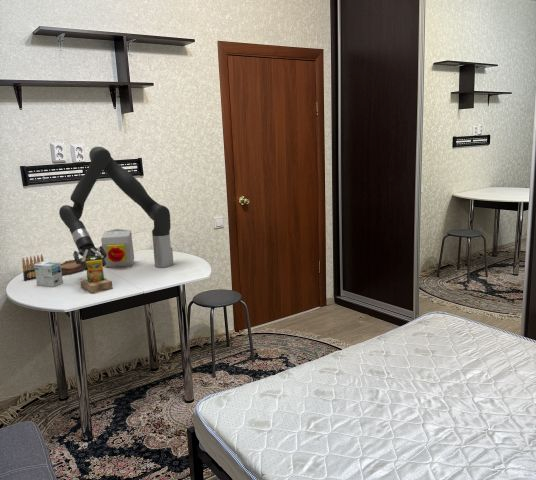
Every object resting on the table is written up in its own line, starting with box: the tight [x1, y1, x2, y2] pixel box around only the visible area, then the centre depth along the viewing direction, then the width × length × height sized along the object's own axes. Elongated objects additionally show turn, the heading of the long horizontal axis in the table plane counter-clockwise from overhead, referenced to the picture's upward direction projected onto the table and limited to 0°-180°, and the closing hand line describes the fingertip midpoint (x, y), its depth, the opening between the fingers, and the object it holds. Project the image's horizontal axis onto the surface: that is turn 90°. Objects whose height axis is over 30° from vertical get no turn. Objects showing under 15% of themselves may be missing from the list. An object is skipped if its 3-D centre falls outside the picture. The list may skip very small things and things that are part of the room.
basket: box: [61, 257, 86, 276], centre depth 268 cm, size 22×20×5 cm
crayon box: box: [85, 256, 105, 282], centre depth 234 cm, size 7×3×12 cm, turn 114°
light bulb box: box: [33, 260, 64, 288], centre depth 243 cm, size 11×7×11 cm, turn 71°
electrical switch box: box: [100, 228, 135, 268], centre depth 271 cm, size 15×15×20 cm
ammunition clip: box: [21, 254, 45, 282], centre depth 253 cm, size 11×2×12 cm, turn 131°
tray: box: [79, 277, 113, 295], centre depth 235 cm, size 10×12×4 cm
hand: (95, 267), depth 232 cm, fingers open, 8 cm apart
